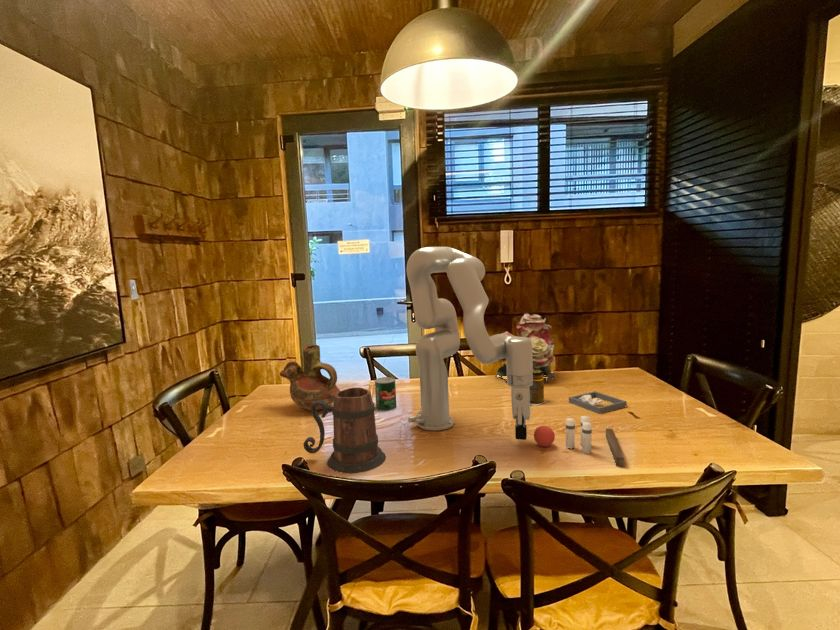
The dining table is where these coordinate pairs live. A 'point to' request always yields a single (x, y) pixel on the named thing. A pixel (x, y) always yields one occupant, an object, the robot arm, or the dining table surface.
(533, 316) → the rose bouquet
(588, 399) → the anatomical pelvis
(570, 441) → the front pin
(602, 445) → the dining table surface
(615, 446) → the wall
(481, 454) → the dining table surface
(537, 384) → the condiment
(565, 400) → the dining table surface
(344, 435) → the tankard
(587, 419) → the back left pin
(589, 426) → the back right pin
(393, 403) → the canned tomato
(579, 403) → the grey square tray
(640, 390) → the dining table surface
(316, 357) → the ceramic vessel
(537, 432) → the ball
